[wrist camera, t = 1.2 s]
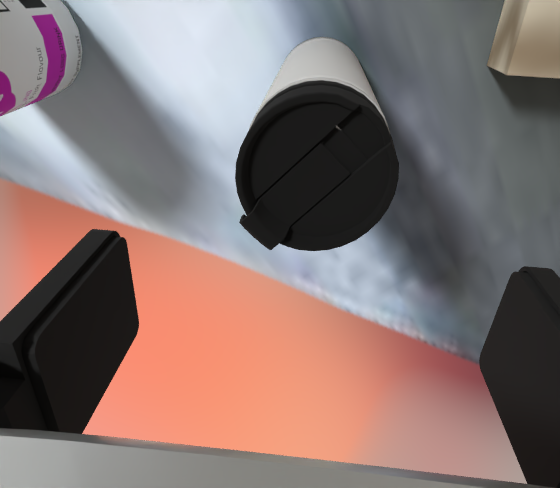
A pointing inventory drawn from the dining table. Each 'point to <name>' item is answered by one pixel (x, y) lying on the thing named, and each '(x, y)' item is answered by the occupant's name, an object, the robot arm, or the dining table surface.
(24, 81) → the supplement can
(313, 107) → the travel mug
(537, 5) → the cream panel copper ring
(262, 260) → the dining table surface
